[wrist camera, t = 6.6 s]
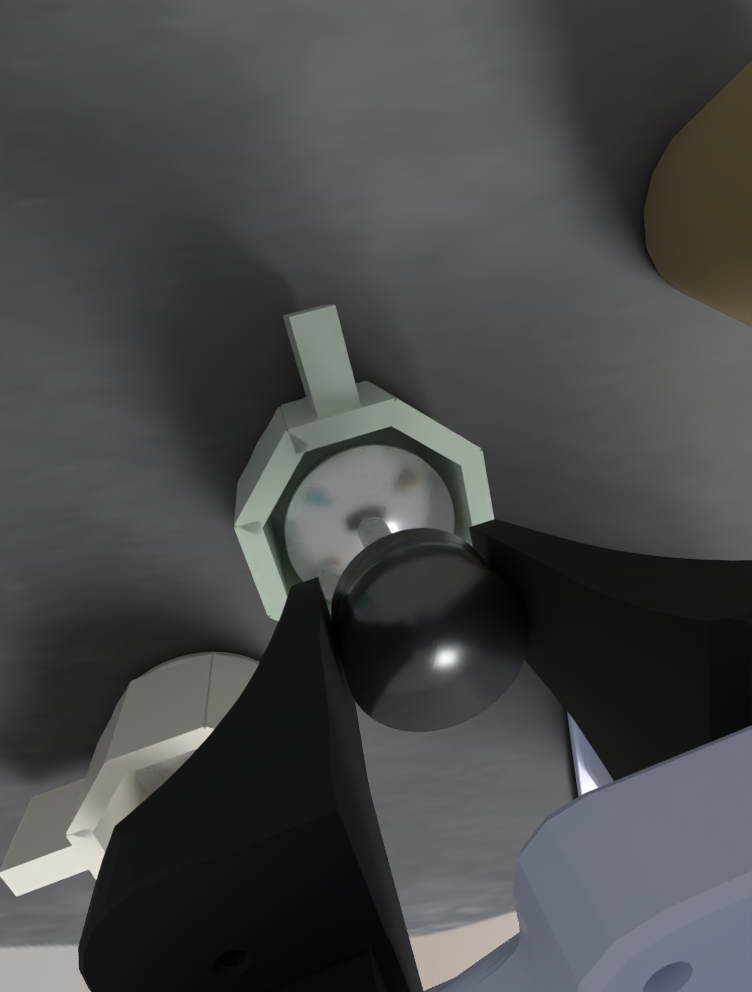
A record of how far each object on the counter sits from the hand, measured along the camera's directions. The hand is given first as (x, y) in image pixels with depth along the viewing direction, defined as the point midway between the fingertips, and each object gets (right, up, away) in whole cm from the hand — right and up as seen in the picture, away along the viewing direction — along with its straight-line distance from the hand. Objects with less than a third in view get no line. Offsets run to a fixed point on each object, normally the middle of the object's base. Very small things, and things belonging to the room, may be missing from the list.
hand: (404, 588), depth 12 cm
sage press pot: (-2, +4, +6) cm, 8 cm away
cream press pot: (-9, -8, +9) cm, 14 cm away
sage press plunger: (-1, +1, +4) cm, 4 cm away
